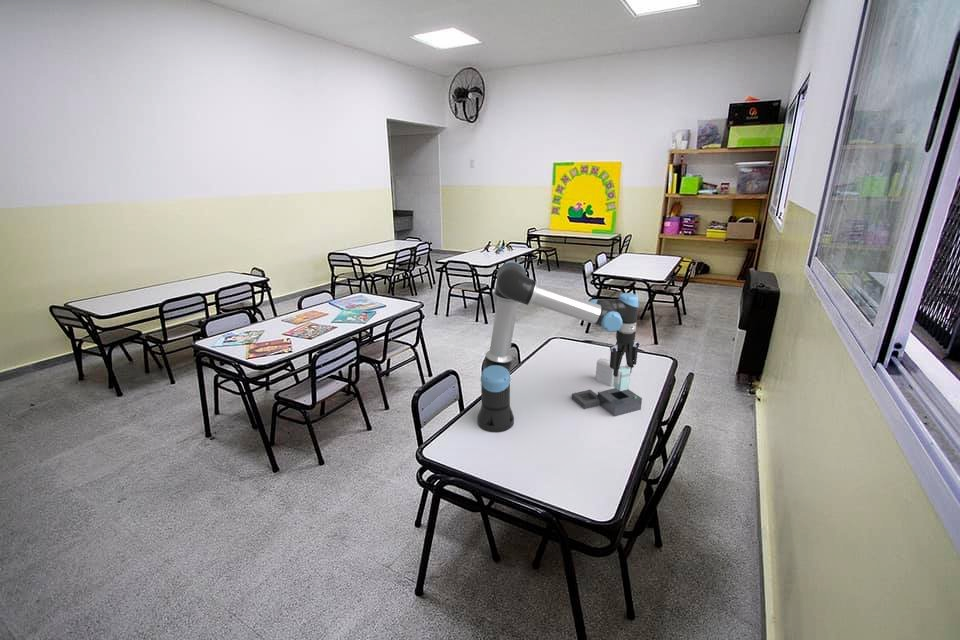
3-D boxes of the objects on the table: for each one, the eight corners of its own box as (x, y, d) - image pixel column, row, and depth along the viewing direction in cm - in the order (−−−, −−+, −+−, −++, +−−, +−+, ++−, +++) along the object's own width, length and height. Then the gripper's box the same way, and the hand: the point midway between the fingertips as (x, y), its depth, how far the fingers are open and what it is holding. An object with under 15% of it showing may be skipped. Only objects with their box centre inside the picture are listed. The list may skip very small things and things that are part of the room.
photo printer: (593, 380, 215) (595, 357, 211) (599, 378, 218) (601, 355, 214) (611, 388, 208) (613, 364, 204) (617, 385, 210) (619, 362, 206)
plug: (620, 391, 185) (621, 372, 182) (613, 386, 189) (614, 367, 186) (628, 389, 187) (630, 370, 184) (621, 384, 191) (623, 365, 188)
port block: (614, 417, 184) (615, 404, 182) (596, 404, 194) (597, 391, 192) (640, 410, 189) (642, 397, 186) (622, 397, 199) (623, 385, 197)
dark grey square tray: (584, 410, 190) (584, 404, 189) (571, 399, 198) (571, 393, 197) (603, 405, 193) (603, 399, 192) (589, 395, 202) (590, 389, 201)
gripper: (614, 337, 173) (610, 389, 181) (649, 330, 179) (644, 381, 187) (602, 331, 180) (599, 381, 187) (637, 324, 186) (632, 373, 194)
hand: (621, 381), depth 187 cm, fingers closed on plug, 5 cm apart
